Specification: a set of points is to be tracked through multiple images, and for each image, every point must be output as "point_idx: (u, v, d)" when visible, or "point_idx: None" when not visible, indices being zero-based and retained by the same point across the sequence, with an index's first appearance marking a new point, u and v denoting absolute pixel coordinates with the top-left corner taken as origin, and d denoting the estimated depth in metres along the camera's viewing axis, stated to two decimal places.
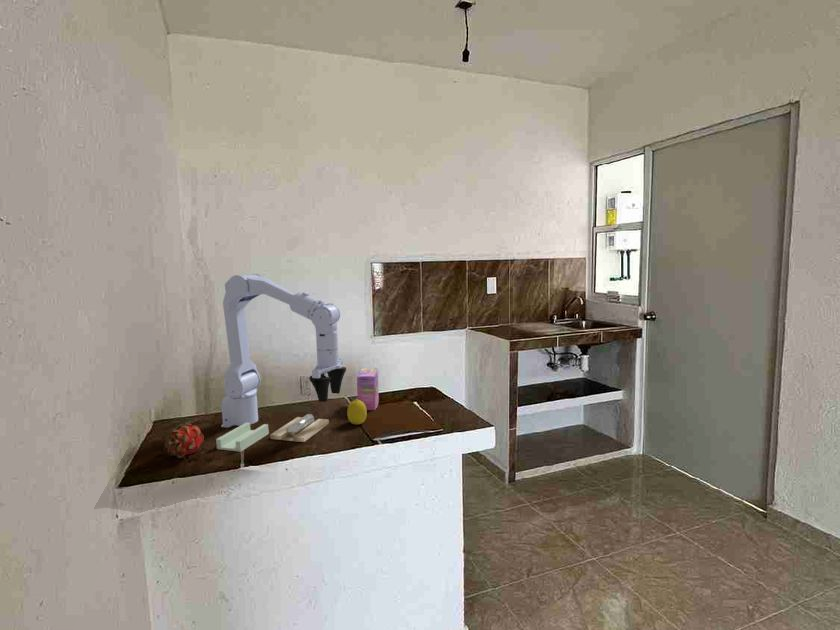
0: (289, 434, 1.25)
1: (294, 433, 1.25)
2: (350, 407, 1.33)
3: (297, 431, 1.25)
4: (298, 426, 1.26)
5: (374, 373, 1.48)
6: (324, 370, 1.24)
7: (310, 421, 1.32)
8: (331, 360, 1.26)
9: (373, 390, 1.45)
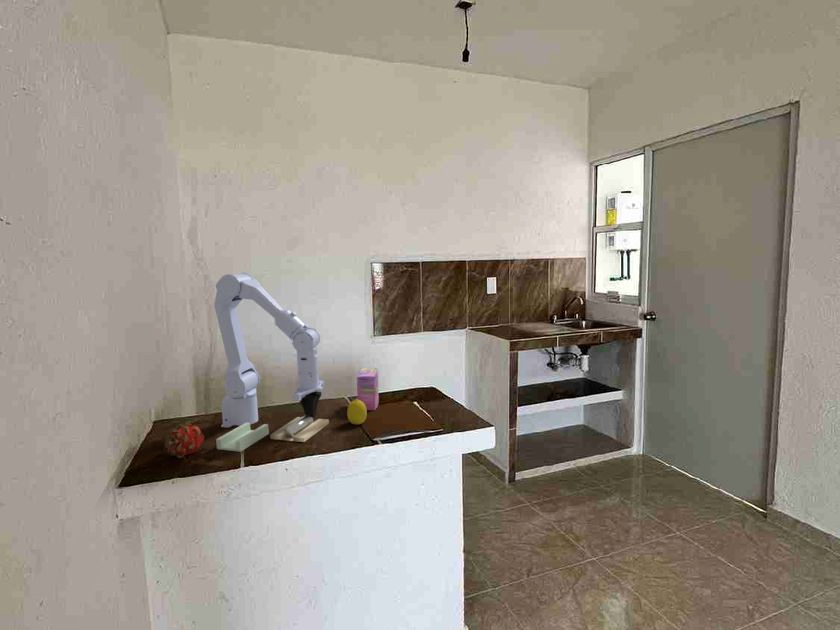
0: (288, 435, 1.25)
1: (293, 433, 1.24)
2: (350, 407, 1.33)
3: (295, 431, 1.25)
4: (296, 426, 1.26)
5: (374, 373, 1.48)
6: (304, 393, 1.29)
7: (308, 421, 1.32)
8: (311, 383, 1.31)
9: (373, 390, 1.45)
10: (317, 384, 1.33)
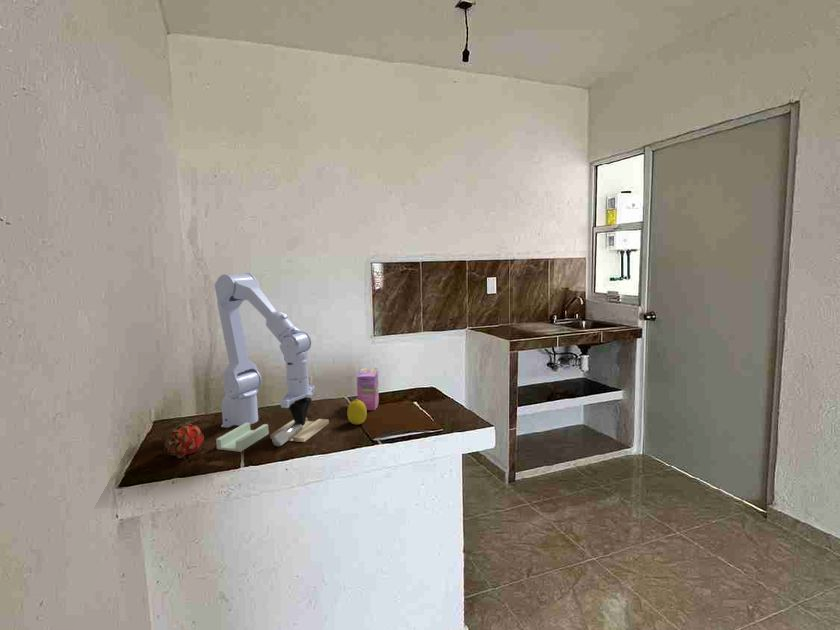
0: (276, 443, 1.19)
1: (281, 442, 1.19)
2: (350, 407, 1.33)
3: (284, 439, 1.20)
4: (284, 434, 1.20)
5: (374, 373, 1.48)
6: (293, 399, 1.23)
7: (298, 428, 1.26)
8: (300, 388, 1.26)
9: (373, 390, 1.45)
10: (307, 390, 1.27)
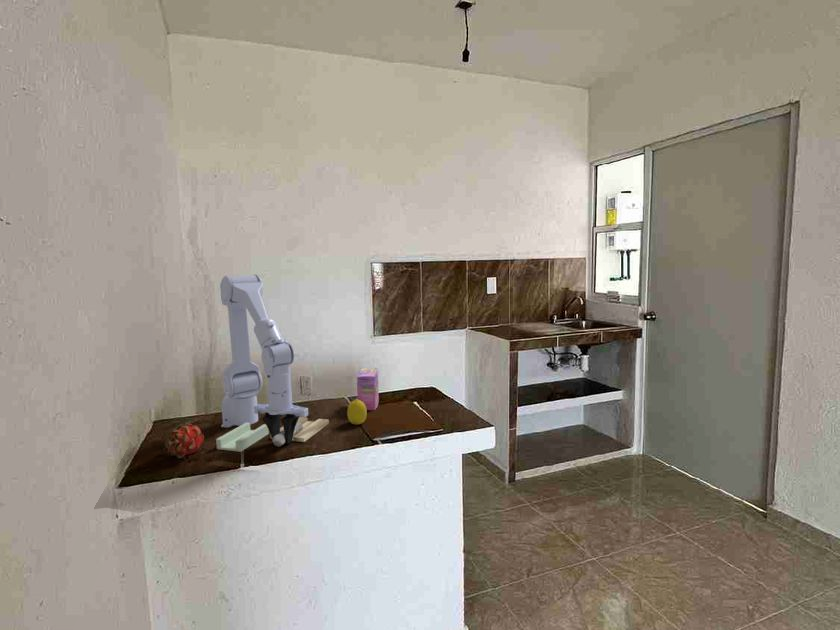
0: (276, 443, 1.19)
1: (281, 442, 1.19)
2: (350, 407, 1.33)
3: (284, 440, 1.20)
4: None
5: (374, 373, 1.48)
6: (260, 408, 1.20)
7: (298, 429, 1.26)
8: None
9: (373, 390, 1.45)
10: (273, 407, 1.17)
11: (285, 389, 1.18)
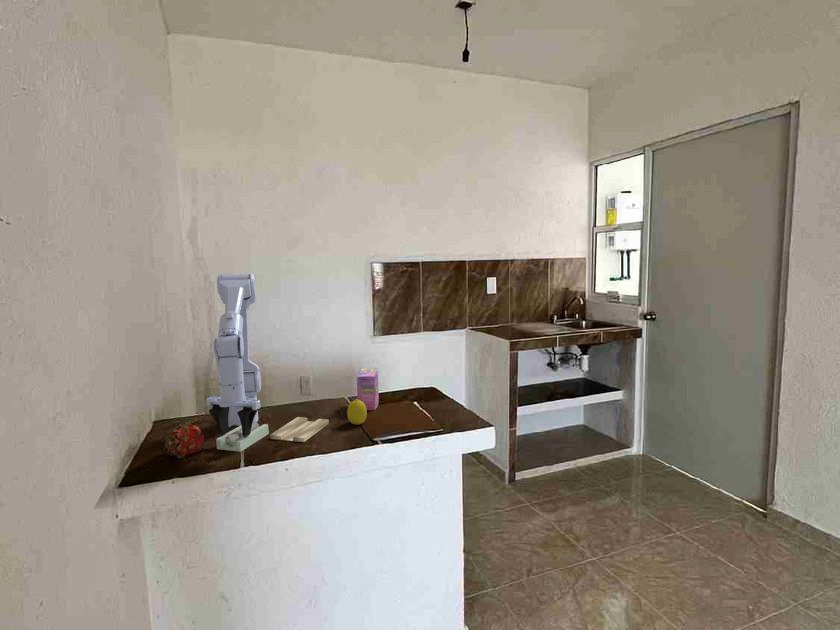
0: (229, 443, 1.19)
1: (234, 442, 1.18)
2: (350, 407, 1.33)
3: None
4: (238, 435, 1.20)
5: (374, 373, 1.48)
6: (212, 401, 1.19)
7: (254, 429, 1.25)
8: (220, 394, 1.17)
9: (373, 390, 1.45)
10: (224, 399, 1.16)
11: (230, 382, 1.16)
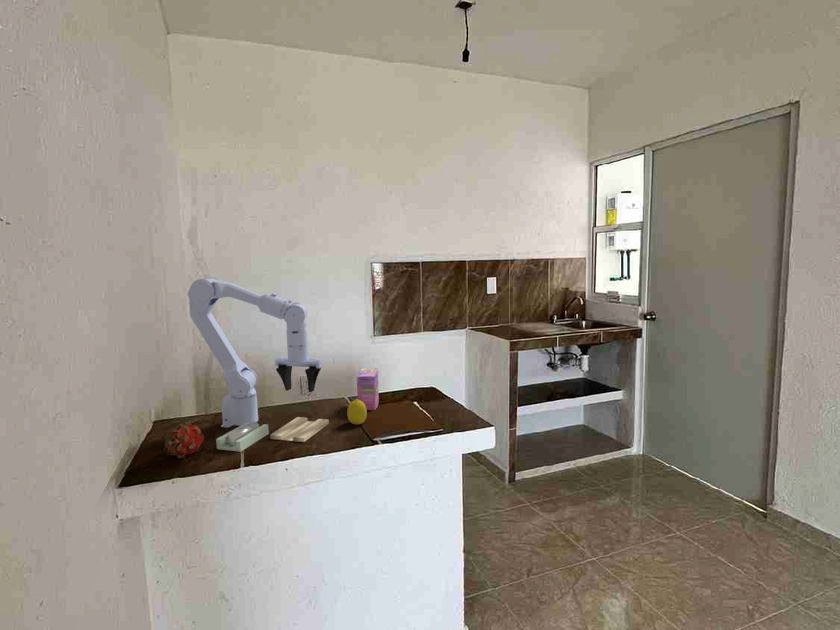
0: (229, 443, 1.19)
1: (234, 442, 1.18)
2: (350, 407, 1.33)
3: None
4: (238, 435, 1.20)
5: (374, 373, 1.48)
6: (280, 361, 1.38)
7: (254, 429, 1.25)
8: (288, 355, 1.36)
9: (373, 390, 1.45)
10: (292, 359, 1.35)
11: None
